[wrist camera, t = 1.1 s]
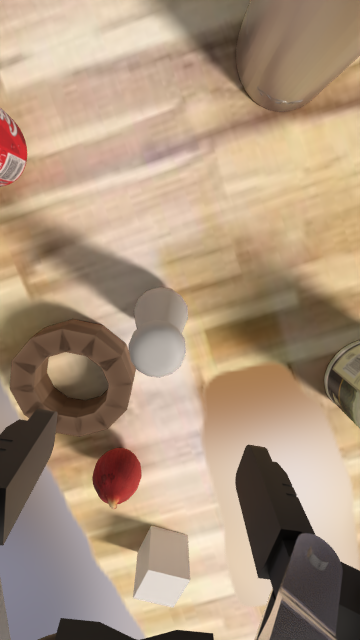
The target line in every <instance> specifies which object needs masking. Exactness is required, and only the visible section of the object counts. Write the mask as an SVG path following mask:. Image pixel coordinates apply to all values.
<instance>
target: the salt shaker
mask: <svg viewBox="0 0 360 640" xmlns="http://www.w3.org/2000/svg"><path fill="white" fill-rule="evenodd" d="M134 316H135V323H136V327H137V330H136V331H134V333H133V335H132V338H131V340H130V343H129V353H130V359H131V362H132V363H133V365H134V366H135V368H136V369H137V370H138V371H140V372H141V373H143V374H145V375H147V376H151V377H159V378H160V377H163V376H167V375H170V374H172V373H173V372H174V371H176V370H177V369H178V368H179V367H180V366H181V364H182V361H183V359H184V357H185V353H186V348H185V339H184V337H183V335H182V331H183V329H184V326H185V324H186V322H187V319H188V308H187V305H186V303H185V301H184V300H183V298H182V296H181V295H179V294H178V293H176V292H175V291H173V290H172V289H170V288H162V287H158V288H154V289H151V290H147V291H146V292H145V293H144V294H143V295H142V296H141V297H140V298H139V299H138V300H137V303H136V305H135V308H134Z"/></svg>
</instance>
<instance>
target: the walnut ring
mask: <svg viewBox="0 0 360 640" xmlns="http://www.w3.org/2000/svg"><path fill="white" fill-rule="evenodd" d="M63 352H69V353H74V354H79V355H84V356H87V357H88V358H89V359H91V360H92V361H93V362H95V363H96V364H97V365H99V366H100V367H101V368H102V370H103V372H104V374H105V377H106V379H107V381H108V384H109V386H108V390H107V391H106V392H105V393H104V394H103V395H102V396H100V397H96V398H93V399H89V400H86V401H85V400H79V399H73V398H68V397H67V396H65V395H64V394H63V393H61V392H60V391H58V390H57V389H56V388H54V386H53V384H52V382H51V380H50V378H49V376H48V374H47V366H48V357H50V356H53V355H57V354H60V353H63ZM135 371H136V368H135V366H134V365H133V363H132V362H131V359H130V353H129V350H128V348H127V345H126V343H124V342H123V341H122V340H121V339H119V338H118V337H117V336H116V335H115V334H113V333H112V332H111V331H110V330H108V329H107V328H106V327H105V326H103V325H100V324H95V323H90V322H85V321H80V320H75V319H71V320H68V321H65V322H61V323H58V324H55V325H52V326H48V327H45V328H44V329H42V330H41V331H40V332H38V333H37V334H36V335H34V336H33V337H32V338H31V339H30V340H29V341H28V342H27V343H26V345H25V346H24V347H23V348H22V349H21V351H20V352H19V353H18V354H17V355H16V356H15V358H14V359H13V360H12V365H11V380H10V390H11V392H12V394H13V395H14V397H15V399H16V401H17V403H18V404H19V406H20V408H21V410H22V412H23V413H24V415H25V416H27V417H28V418H30V417H31V416H32V414H33V413H34V412H35V410H36V409H44V410H50V411H56V412H57V424H56V432H55V433H61V434H67V435H73V436H79V437H80V436H84V435H87V434H91V433H94V432H98V431H102V430H105V429H108V428H109V427H110V426H111V425H112V424H113V423H114V422H115V421H116V420H117V419H118V418H119V417H120V416H121V415H122V414H123V413H124V412H125V411H126V410H127V407H128V403H129V399H130V395H131V390H132V385H133V380H134V375H135Z"/></svg>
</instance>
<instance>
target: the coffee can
mask: <svg viewBox="0 0 360 640" xmlns="http://www.w3.org/2000/svg"><path fill="white" fill-rule="evenodd" d="M324 386H325V390H326V393H327V395H328V397H329V398H330V399H331V400H332V402H334V403H335V404H336V405H337V406H338V407H339V408H340V409H341V410H342V411H343V412H344V413H345V414H346V415H347V416H348V417H349V418H350V419H351V420H352V421H353V422H354V423H355V424H356V425H357V426H358V427H359V428H360V340H359V341H356V342H353V343H351V344H349V345H348V346H346V347H344V348H343V349H342V350H340V351H339V352H338V353H337V354H336V355H335V356H334V358H333V359H332V360H331V362H330V363H329V365H328V367H327V370H326V373H325V378H324Z"/></svg>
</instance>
